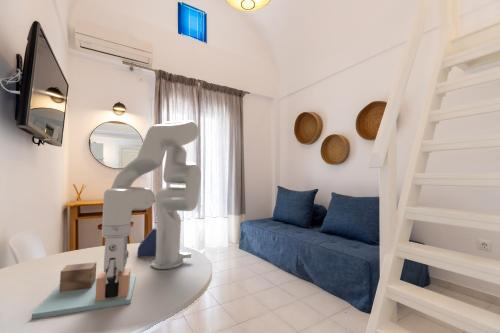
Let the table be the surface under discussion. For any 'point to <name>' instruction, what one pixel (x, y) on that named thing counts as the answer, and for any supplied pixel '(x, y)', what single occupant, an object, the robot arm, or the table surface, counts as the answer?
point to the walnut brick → (77, 277)
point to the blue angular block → (148, 245)
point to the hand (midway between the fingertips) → (113, 291)
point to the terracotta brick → (122, 279)
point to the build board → (78, 301)
